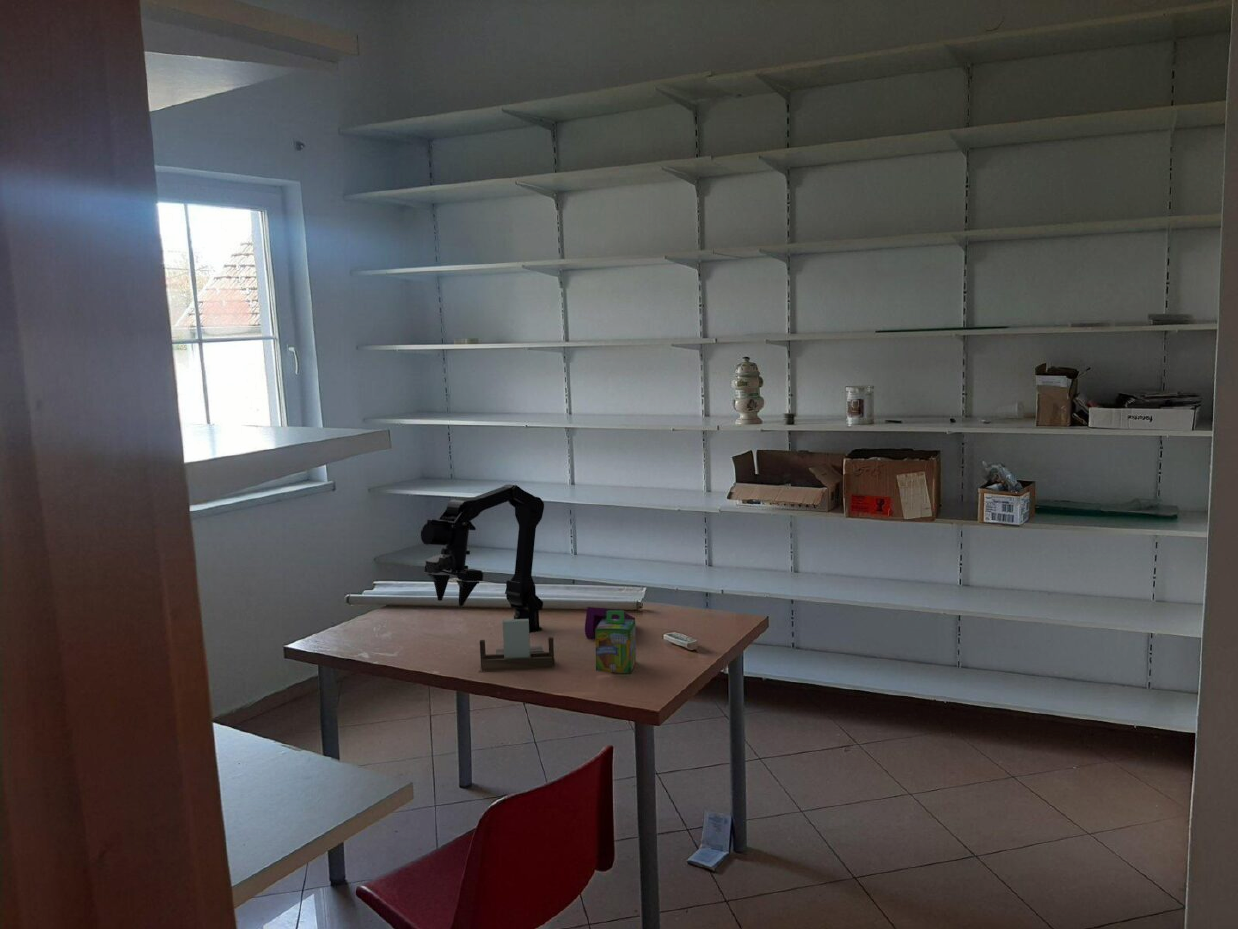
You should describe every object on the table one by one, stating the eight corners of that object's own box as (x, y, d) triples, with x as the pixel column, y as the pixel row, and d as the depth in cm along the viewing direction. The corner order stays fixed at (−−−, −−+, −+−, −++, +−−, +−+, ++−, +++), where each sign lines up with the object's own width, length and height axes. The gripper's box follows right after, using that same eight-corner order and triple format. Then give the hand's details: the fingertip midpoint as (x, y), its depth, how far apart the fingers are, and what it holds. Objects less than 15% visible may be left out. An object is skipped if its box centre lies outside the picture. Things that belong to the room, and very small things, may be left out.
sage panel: (505, 664, 239) (503, 619, 237) (530, 663, 239) (528, 618, 237) (504, 667, 237) (502, 622, 235) (530, 666, 237) (527, 621, 235)
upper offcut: (496, 654, 247) (496, 649, 246) (540, 650, 249) (540, 644, 249) (497, 661, 242) (497, 655, 242) (543, 656, 244) (543, 650, 244)
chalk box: (595, 673, 232) (593, 616, 231) (602, 661, 241) (600, 606, 240) (631, 674, 231) (629, 616, 229) (637, 662, 240) (635, 606, 238)
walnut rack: (482, 664, 242) (481, 636, 241) (555, 661, 242) (554, 633, 241) (479, 675, 234) (477, 645, 233) (554, 672, 234) (552, 642, 233)
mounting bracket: (606, 646, 272) (583, 637, 256) (610, 618, 275) (587, 607, 259) (636, 649, 269) (614, 639, 253) (639, 620, 271) (618, 609, 255)
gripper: (411, 541, 250) (405, 598, 250) (454, 549, 238) (447, 609, 237) (444, 542, 259) (438, 597, 258) (487, 550, 246) (481, 608, 246)
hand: (450, 603), depth 250 cm, fingers open, 9 cm apart
